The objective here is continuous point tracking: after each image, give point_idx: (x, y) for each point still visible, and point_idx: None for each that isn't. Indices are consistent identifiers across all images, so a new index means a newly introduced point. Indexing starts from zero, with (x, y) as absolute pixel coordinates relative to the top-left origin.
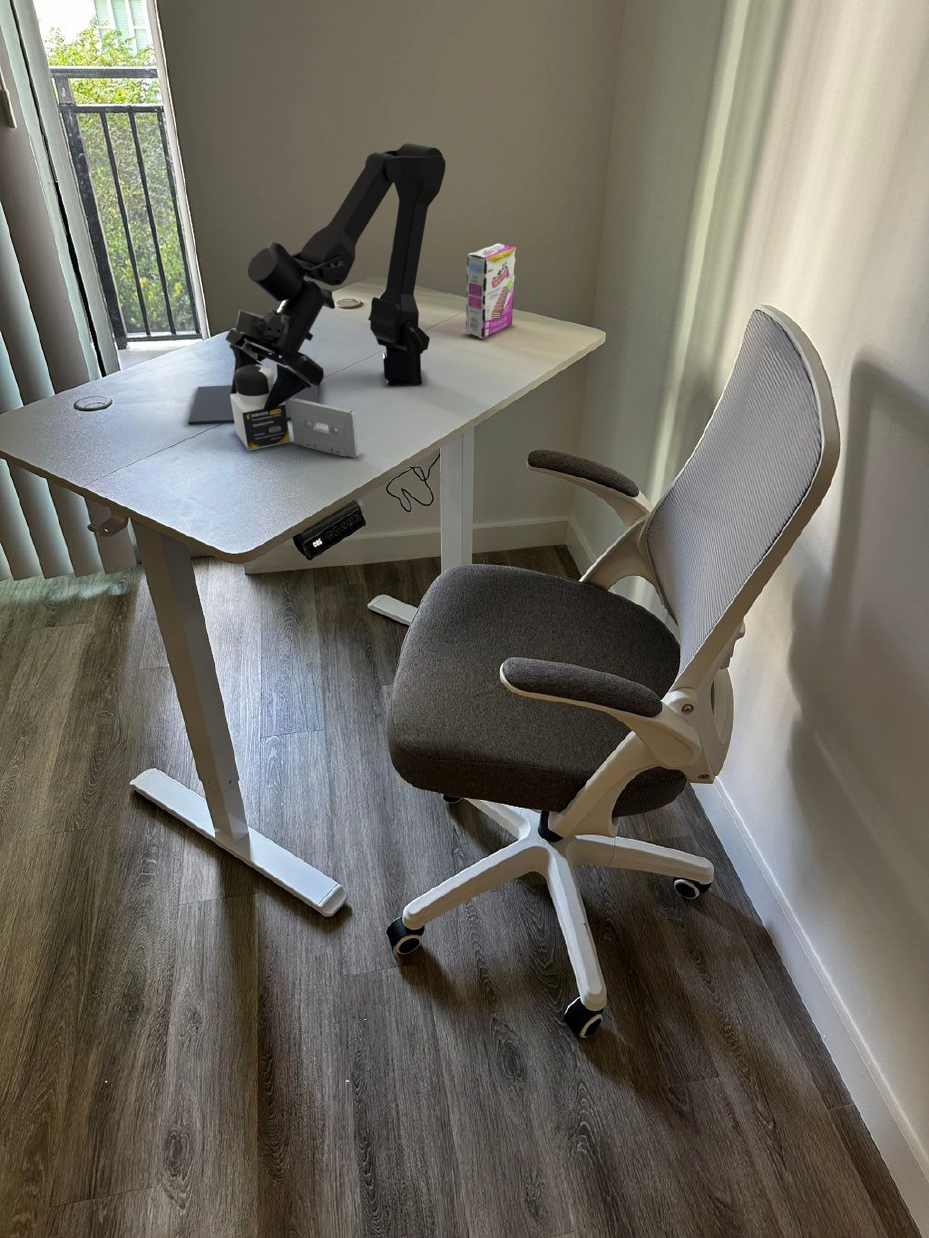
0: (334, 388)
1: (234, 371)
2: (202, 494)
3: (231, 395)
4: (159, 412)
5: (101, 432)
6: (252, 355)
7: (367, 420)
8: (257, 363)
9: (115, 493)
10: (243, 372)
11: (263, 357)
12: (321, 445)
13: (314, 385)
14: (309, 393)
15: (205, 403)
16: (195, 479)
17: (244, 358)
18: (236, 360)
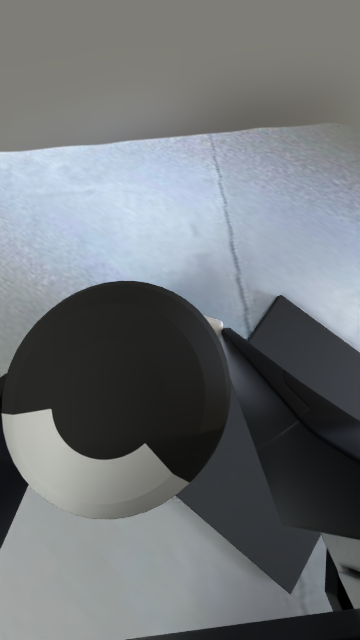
0: (247, 598)
1: (285, 371)
2: (88, 205)
3: (215, 320)
4: (343, 289)
5: (329, 207)
6: (357, 558)
7: (80, 547)
8: (293, 511)
9: (168, 146)
10: (113, 318)
11: (336, 597)
12: None
13: (276, 570)
14: (249, 533)
15: (327, 351)
16: (128, 219)
17: (330, 472)
18: (347, 419)
